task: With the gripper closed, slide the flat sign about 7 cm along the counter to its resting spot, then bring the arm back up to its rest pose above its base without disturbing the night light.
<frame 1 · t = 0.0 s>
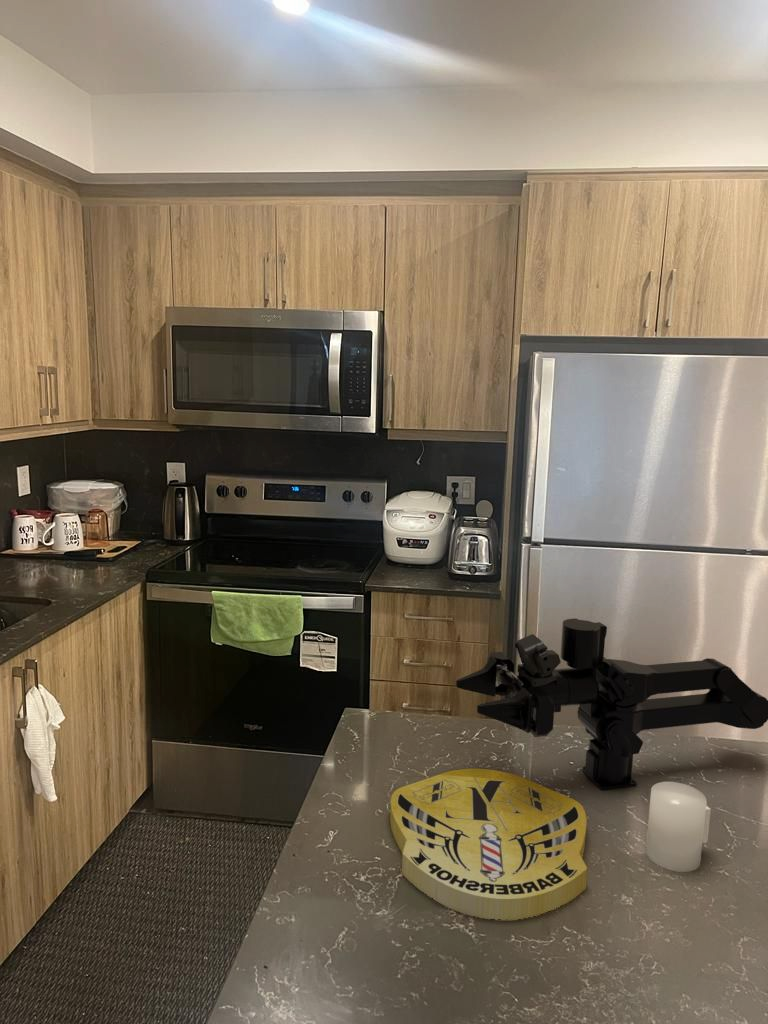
hand: (466, 696, 113), 17 cm above the countertop, tool horizontal, fingers open, 9 cm apart
night light: (672, 855, 102), on the countertop
sign: (487, 847, 104), on the countertop
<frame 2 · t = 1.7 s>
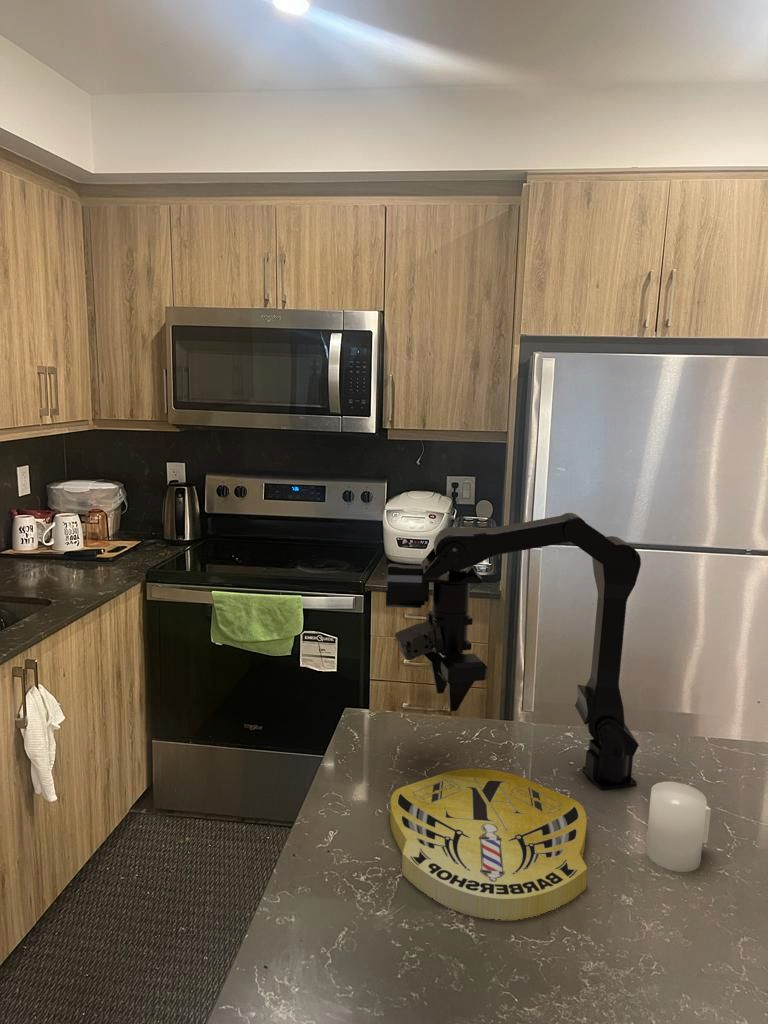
hand: (446, 701, 120), 13 cm above the countertop, tool pointing down, fingers open, 6 cm apart
nothing on the countertop moved.
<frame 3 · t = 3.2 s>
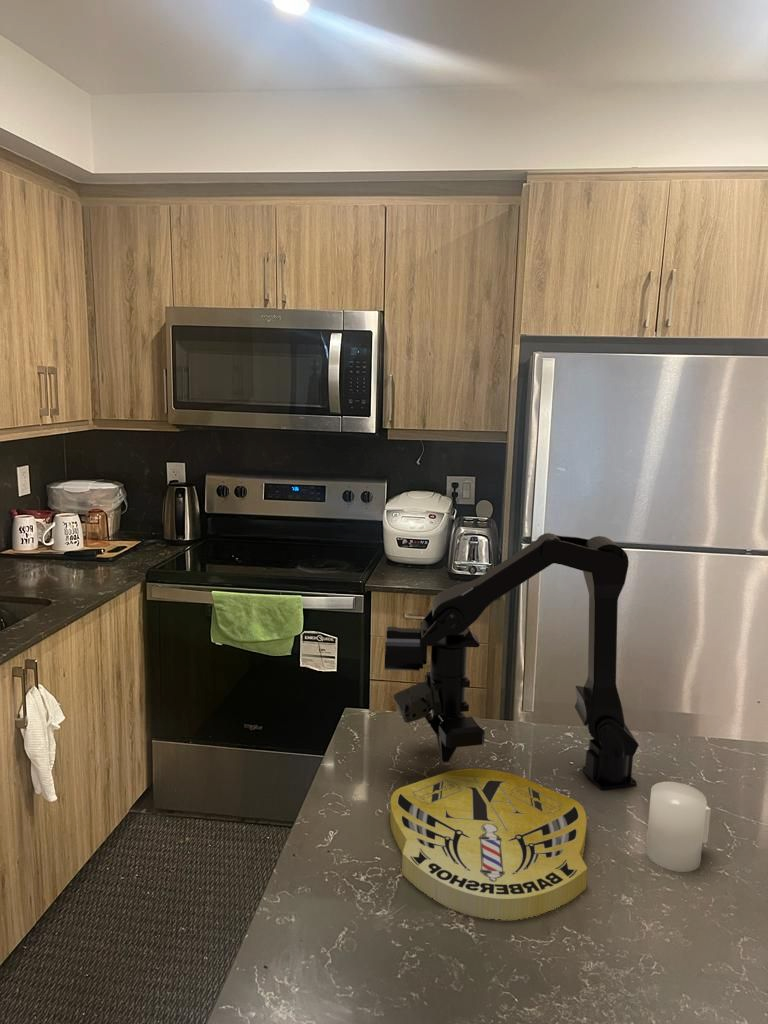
hand: (444, 760, 122), 2 cm above the countertop, tool pointing down, fingers closed
nothing on the countertop moved.
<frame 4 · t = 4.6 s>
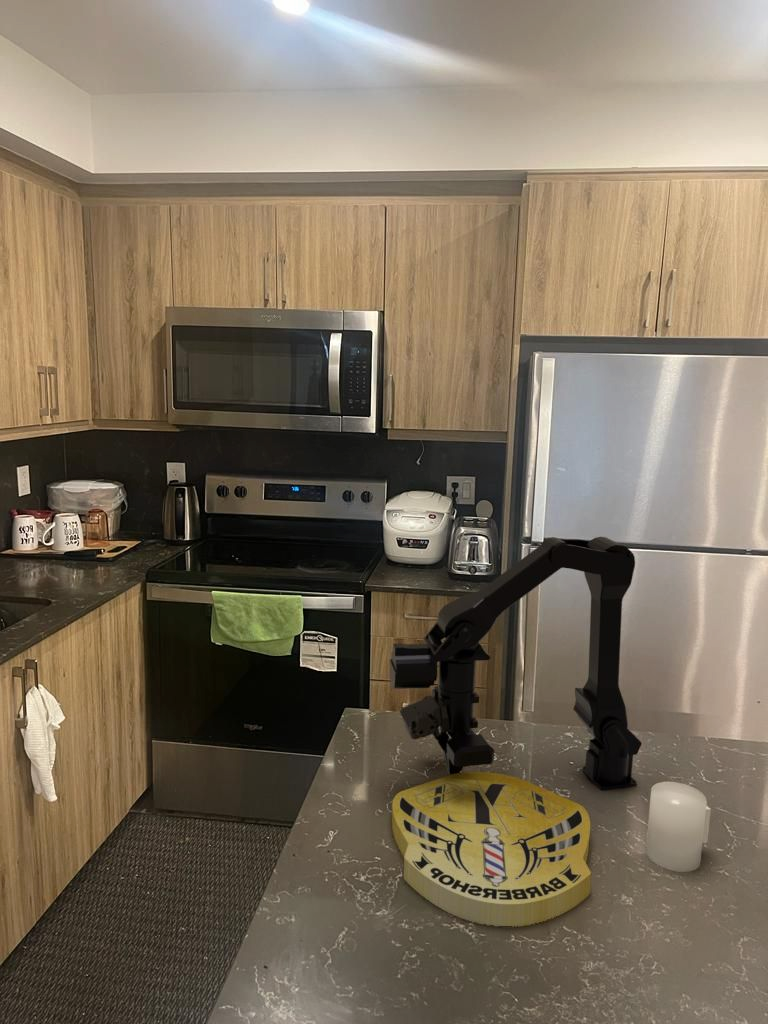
hand: (452, 778, 118), 2 cm above the countertop, tool pointing down, fingers closed
sign: (489, 851, 103), on the countertop, touching gripper
everything else where it was.
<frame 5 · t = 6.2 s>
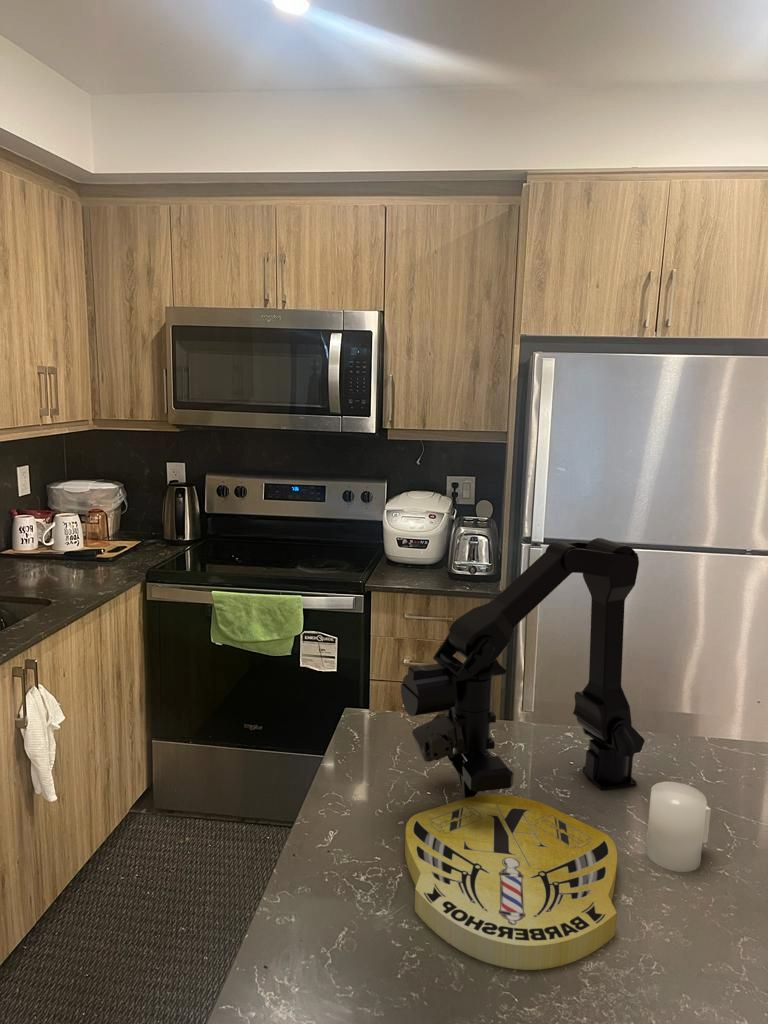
hand: (467, 801, 112), 2 cm above the countertop, tool pointing down, fingers closed
sign: (508, 882, 97), on the countertop
everything else where it was.
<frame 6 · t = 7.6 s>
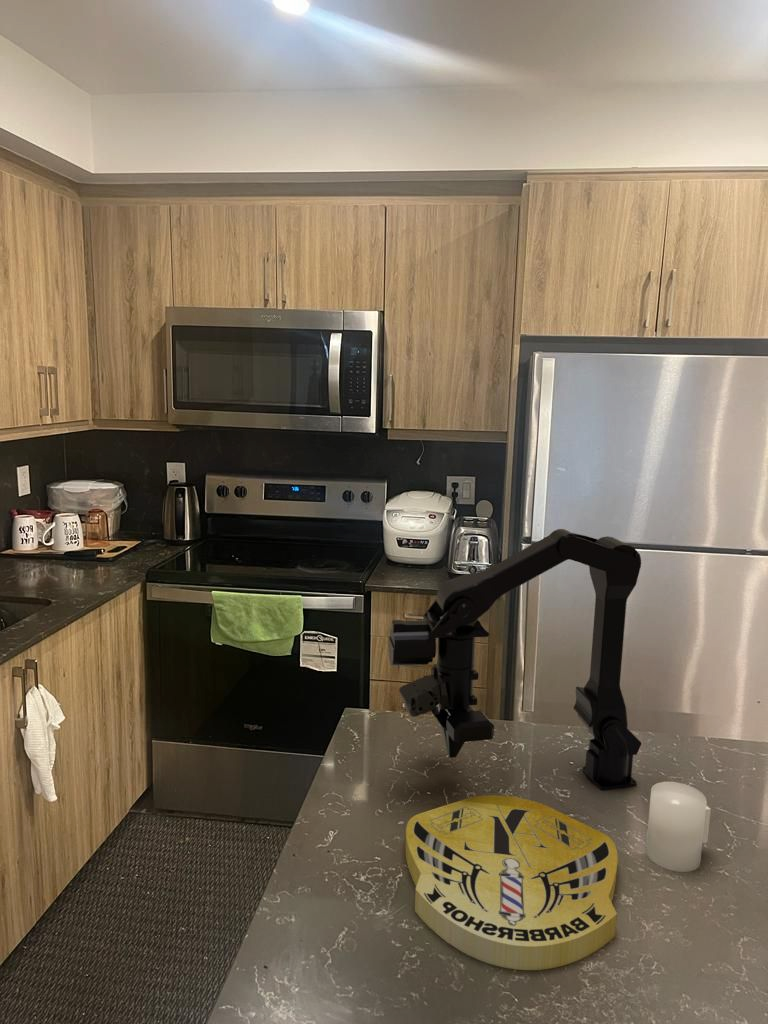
hand: (452, 756, 118), 5 cm above the countertop, tool pointing down, fingers closed
nothing on the countertop moved.
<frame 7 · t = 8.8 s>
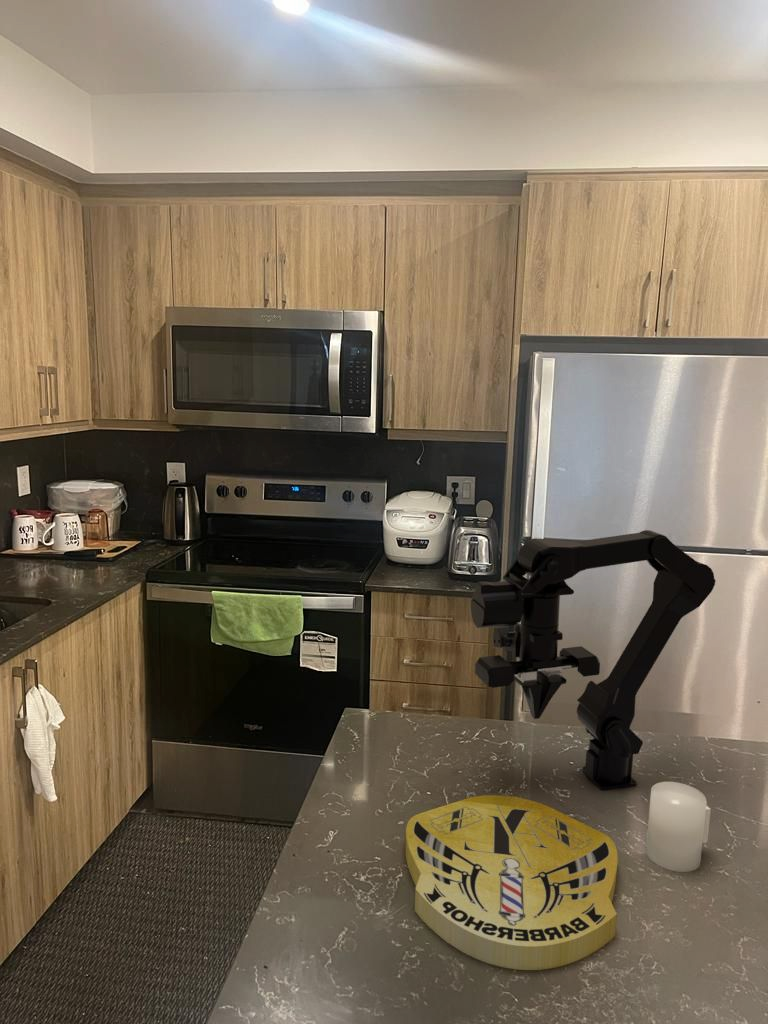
hand: (535, 717, 117), 12 cm above the countertop, tool pointing down, fingers closed
nothing on the countertop moved.
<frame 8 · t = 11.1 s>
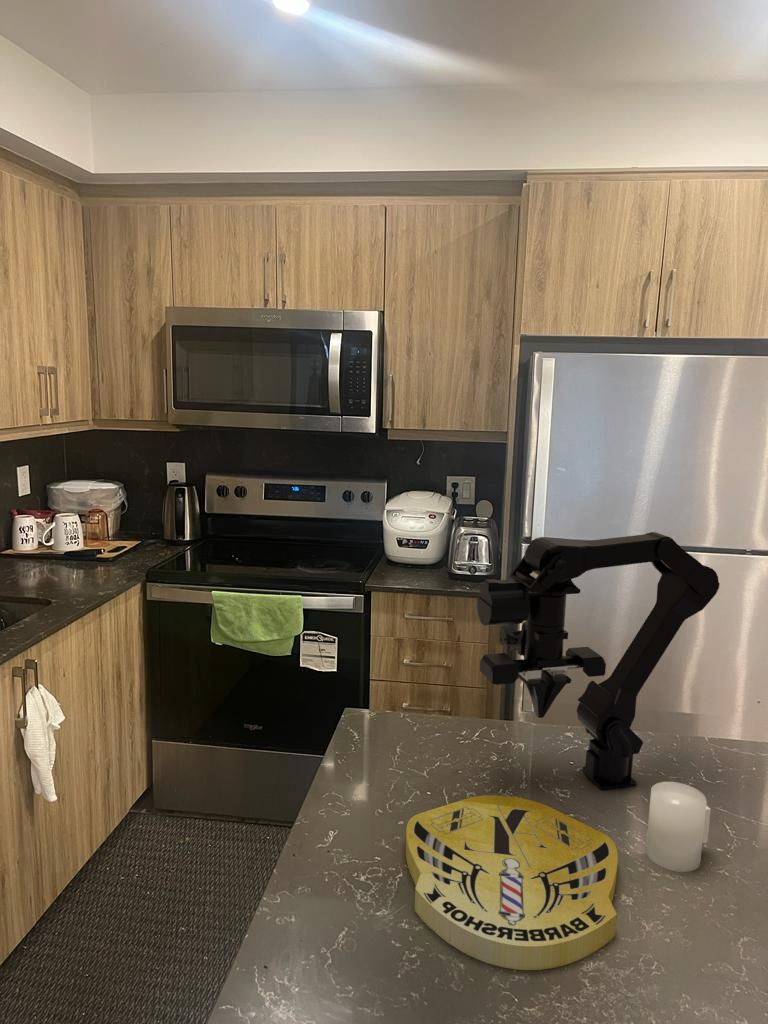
hand: (539, 716, 117), 12 cm above the countertop, tool pointing down, fingers closed
nothing on the countertop moved.
at the end: sign inside the target area (0.8 cm from its centre), on the countertop; sign moved 7.8 cm from its start; night light moved 0.0 cm from its start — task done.
